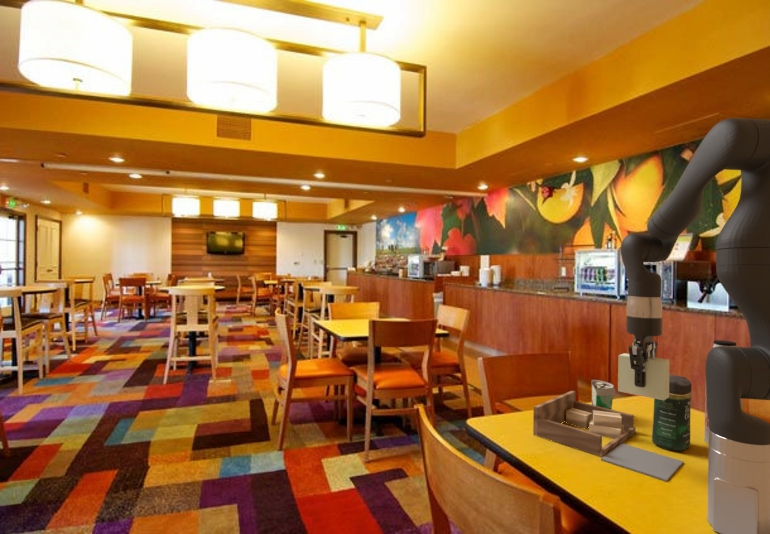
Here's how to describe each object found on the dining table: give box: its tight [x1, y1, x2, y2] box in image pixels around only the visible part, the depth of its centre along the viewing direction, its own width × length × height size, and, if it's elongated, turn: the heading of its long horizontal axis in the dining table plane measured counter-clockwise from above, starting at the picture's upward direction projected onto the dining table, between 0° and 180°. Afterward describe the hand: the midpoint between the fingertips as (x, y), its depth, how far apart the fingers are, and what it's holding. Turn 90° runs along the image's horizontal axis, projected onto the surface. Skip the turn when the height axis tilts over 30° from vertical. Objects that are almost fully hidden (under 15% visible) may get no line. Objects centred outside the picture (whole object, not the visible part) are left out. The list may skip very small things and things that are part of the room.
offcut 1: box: [565, 408, 592, 430], centre depth 130 cm, size 4×6×4 cm, turn 40°
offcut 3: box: [588, 420, 625, 440], centre depth 123 cm, size 5×8×3 cm, turn 50°
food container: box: [591, 379, 616, 410], centre depth 138 cm, size 12×6×10 cm, turn 161°
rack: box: [532, 390, 637, 458], centre depth 123 cm, size 24×19×8 cm
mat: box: [600, 442, 684, 483], centre depth 106 cm, size 14×14×1 cm
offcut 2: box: [593, 410, 622, 429], centre depth 123 cm, size 4×7×3 cm, turn 68°
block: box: [617, 352, 670, 400], centre depth 106 cm, size 4×10×9 cm, turn 43°
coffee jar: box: [651, 374, 693, 452], centre depth 116 cm, size 10×8×19 cm
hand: (643, 384), depth 106 cm, fingers closed on block, 4 cm apart
